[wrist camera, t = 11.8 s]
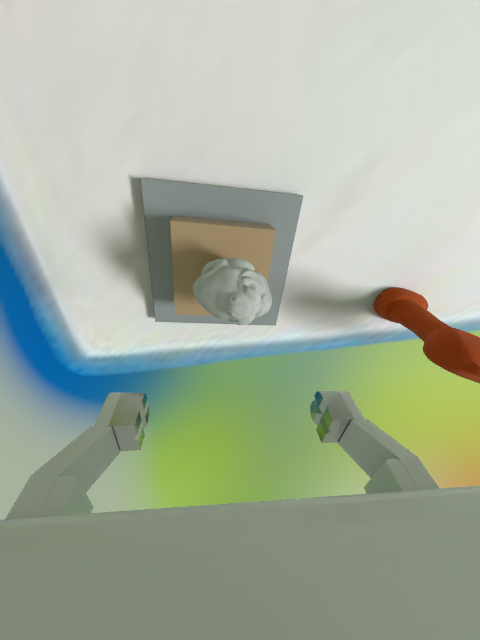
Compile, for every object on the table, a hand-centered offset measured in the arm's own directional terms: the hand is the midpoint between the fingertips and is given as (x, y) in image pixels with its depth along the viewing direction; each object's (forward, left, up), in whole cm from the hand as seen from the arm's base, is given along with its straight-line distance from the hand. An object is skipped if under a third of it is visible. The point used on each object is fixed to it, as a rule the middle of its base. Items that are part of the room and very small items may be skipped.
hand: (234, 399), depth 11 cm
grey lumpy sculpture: (0, +1, -16) cm, 16 cm away
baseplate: (0, 0, -20) cm, 20 cm away
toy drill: (+6, +30, -20) cm, 37 cm away
